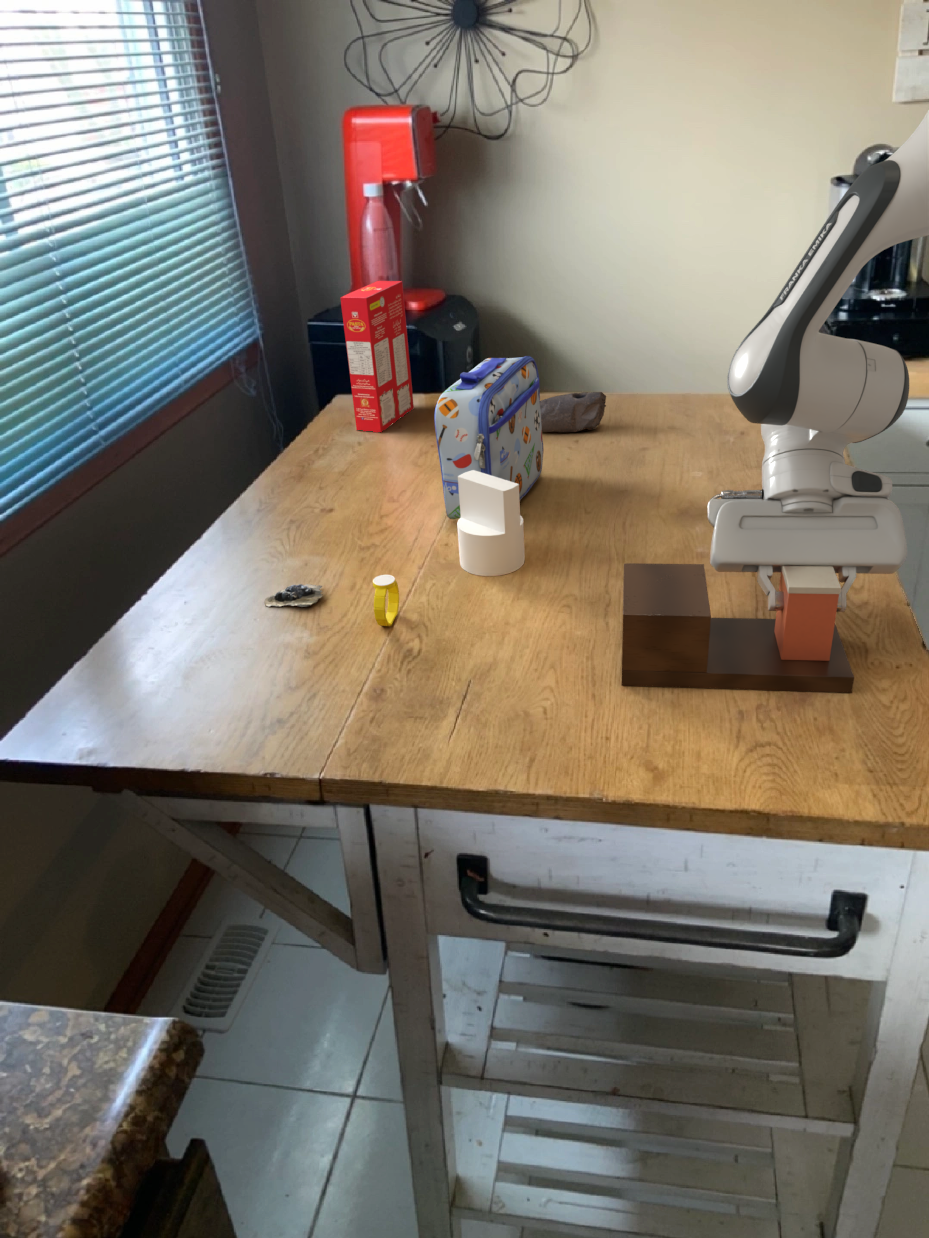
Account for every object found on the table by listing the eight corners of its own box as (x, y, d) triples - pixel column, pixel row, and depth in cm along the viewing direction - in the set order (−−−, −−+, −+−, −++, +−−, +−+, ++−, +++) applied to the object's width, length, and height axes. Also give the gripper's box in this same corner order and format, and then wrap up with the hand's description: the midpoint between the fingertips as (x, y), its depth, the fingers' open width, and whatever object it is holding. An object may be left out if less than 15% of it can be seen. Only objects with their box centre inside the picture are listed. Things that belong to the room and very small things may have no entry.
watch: (385, 608, 125) (380, 567, 122) (406, 610, 124) (401, 568, 121) (371, 632, 120) (365, 589, 117) (392, 633, 119) (387, 591, 116)
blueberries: (324, 608, 126) (322, 595, 125) (262, 615, 125) (259, 603, 124) (323, 584, 132) (321, 572, 131) (264, 591, 131) (262, 579, 130)
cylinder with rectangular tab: (538, 558, 134) (535, 477, 128) (493, 582, 129) (488, 499, 123) (491, 541, 140) (487, 463, 134) (446, 563, 135) (440, 482, 129)
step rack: (831, 634, 112) (841, 565, 108) (851, 692, 102) (863, 619, 98) (622, 630, 116) (623, 563, 112) (621, 685, 106) (622, 614, 102)
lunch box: (501, 541, 140) (493, 391, 129) (434, 534, 143) (421, 388, 132) (550, 472, 162) (548, 339, 151) (491, 468, 166) (485, 338, 155)
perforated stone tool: (525, 437, 178) (524, 400, 174) (525, 428, 182) (524, 392, 179) (607, 434, 177) (608, 396, 173) (605, 424, 181) (605, 388, 178)
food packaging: (390, 407, 199) (377, 280, 186) (413, 409, 197) (402, 281, 185) (356, 430, 187) (340, 297, 175) (380, 432, 185) (366, 298, 173)
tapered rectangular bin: (821, 632, 109) (830, 560, 105) (830, 661, 104) (841, 587, 100) (773, 631, 110) (780, 560, 106) (780, 660, 105) (788, 586, 100)
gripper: (710, 479, 106) (710, 600, 103) (907, 478, 103) (915, 603, 99) (704, 501, 112) (705, 616, 109) (891, 500, 109) (898, 619, 105)
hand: (807, 610), depth 104 cm, fingers closed on tapered rectangular bin, 5 cm apart
